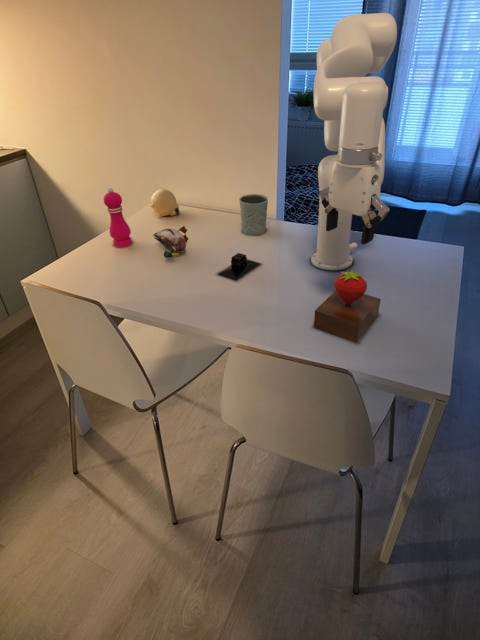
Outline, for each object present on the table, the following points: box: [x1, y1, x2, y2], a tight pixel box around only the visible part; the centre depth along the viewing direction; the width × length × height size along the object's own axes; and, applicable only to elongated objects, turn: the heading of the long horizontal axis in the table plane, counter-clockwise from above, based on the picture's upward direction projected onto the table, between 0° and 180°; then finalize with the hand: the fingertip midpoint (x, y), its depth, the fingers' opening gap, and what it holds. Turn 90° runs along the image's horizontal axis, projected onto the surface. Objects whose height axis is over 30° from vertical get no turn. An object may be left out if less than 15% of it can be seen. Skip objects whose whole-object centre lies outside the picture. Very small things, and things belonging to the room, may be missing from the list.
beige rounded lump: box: [149, 188, 180, 218], centre depth 167 cm, size 10×12×11 cm
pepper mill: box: [103, 187, 132, 248], centre depth 142 cm, size 7×7×20 cm
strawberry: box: [333, 269, 368, 305], centre depth 95 cm, size 6×8×10 cm
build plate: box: [217, 252, 261, 281], centre depth 126 cm, size 12×7×5 cm, turn 143°
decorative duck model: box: [152, 225, 190, 259], centre depth 137 cm, size 15×8×15 cm
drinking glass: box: [238, 193, 269, 236], centre depth 148 cm, size 10×10×12 cm
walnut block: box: [313, 290, 382, 343], centre depth 100 cm, size 13×11×5 cm
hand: (348, 235), depth 91 cm, fingers open, 9 cm apart
